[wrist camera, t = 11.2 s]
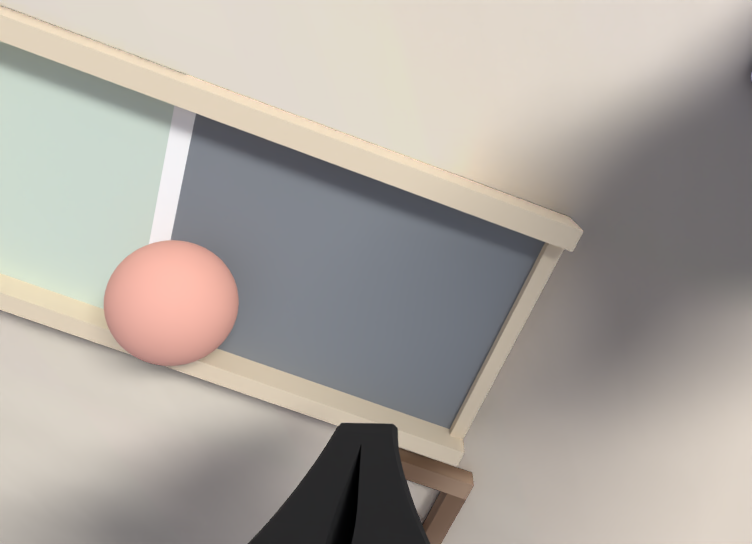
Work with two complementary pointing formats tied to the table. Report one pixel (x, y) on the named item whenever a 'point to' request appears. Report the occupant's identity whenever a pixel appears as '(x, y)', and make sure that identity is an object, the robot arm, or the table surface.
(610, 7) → the table surface
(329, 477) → the robot arm
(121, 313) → the ball
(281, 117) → the tray
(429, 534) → the open wooden square ring
